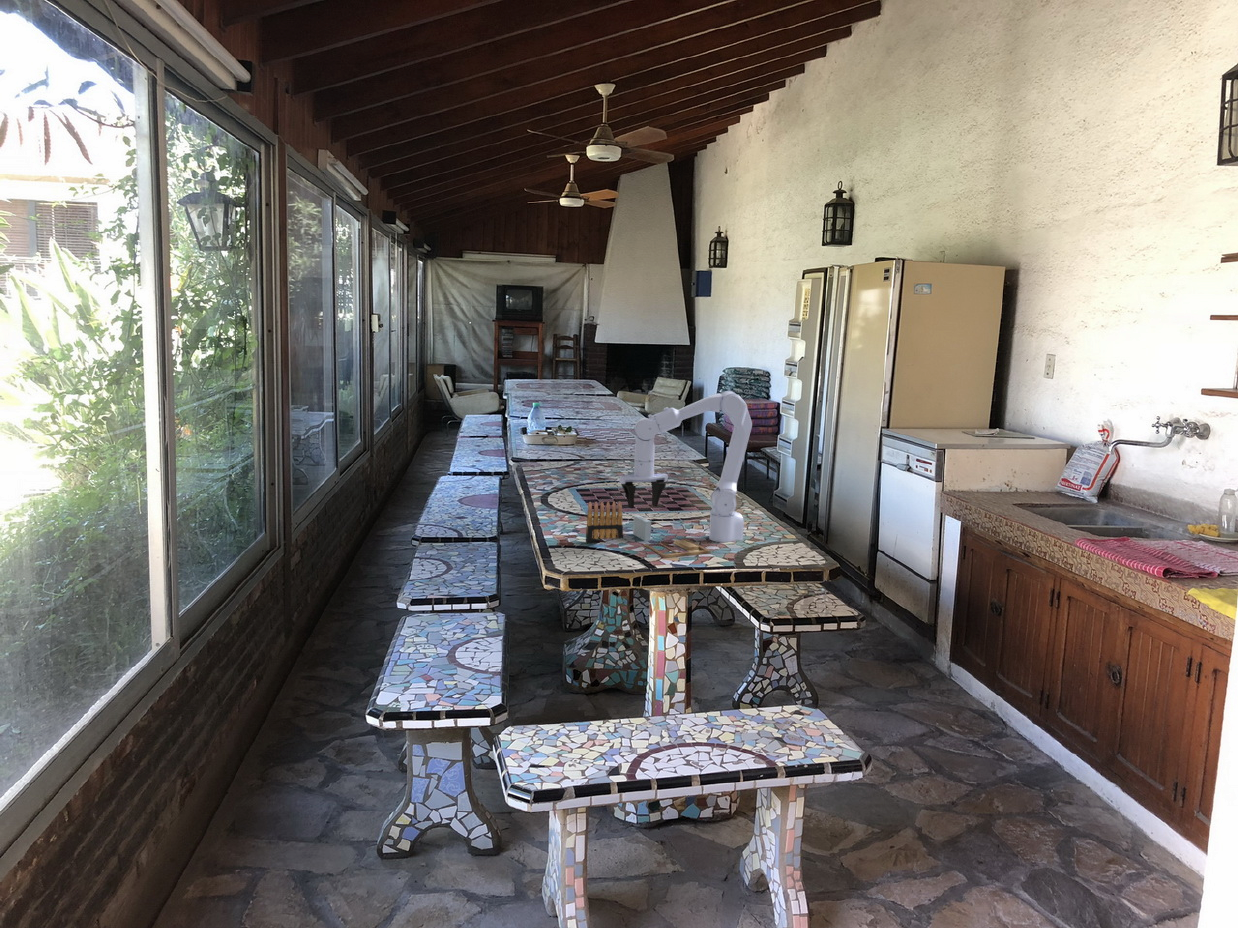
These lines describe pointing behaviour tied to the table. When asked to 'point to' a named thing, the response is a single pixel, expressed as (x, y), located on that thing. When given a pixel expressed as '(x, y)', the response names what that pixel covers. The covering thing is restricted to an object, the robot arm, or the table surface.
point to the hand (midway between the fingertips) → (642, 506)
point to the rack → (676, 554)
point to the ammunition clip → (604, 522)
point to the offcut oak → (686, 545)
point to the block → (642, 528)
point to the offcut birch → (691, 550)
